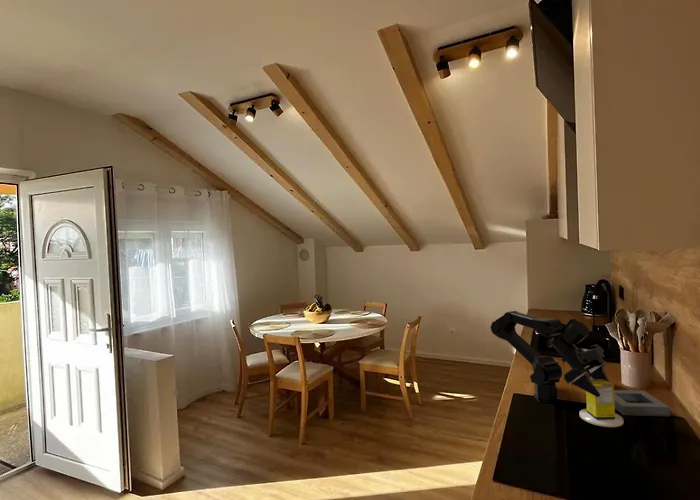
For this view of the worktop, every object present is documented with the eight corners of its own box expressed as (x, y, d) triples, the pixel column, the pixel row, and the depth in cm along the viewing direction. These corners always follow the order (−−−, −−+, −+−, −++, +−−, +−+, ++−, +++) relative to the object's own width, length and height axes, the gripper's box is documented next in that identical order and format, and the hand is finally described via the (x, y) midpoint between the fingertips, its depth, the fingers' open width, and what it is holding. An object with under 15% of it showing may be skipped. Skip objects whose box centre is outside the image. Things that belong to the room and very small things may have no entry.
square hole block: (622, 415, 130) (622, 406, 130) (602, 398, 143) (601, 390, 143) (670, 416, 128) (669, 407, 128) (644, 399, 141) (644, 390, 141)
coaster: (589, 426, 123) (589, 424, 123) (573, 410, 135) (573, 407, 135) (631, 427, 121) (631, 425, 121) (611, 411, 133) (611, 408, 133)
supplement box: (604, 411, 131) (603, 378, 131) (615, 419, 125) (614, 385, 125) (586, 411, 131) (585, 379, 131) (596, 419, 125) (595, 385, 125)
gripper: (573, 342, 125) (613, 387, 116) (598, 332, 136) (636, 372, 127) (548, 361, 131) (585, 405, 123) (574, 351, 142) (609, 390, 134)
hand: (605, 392), depth 126 cm, fingers open, 9 cm apart
